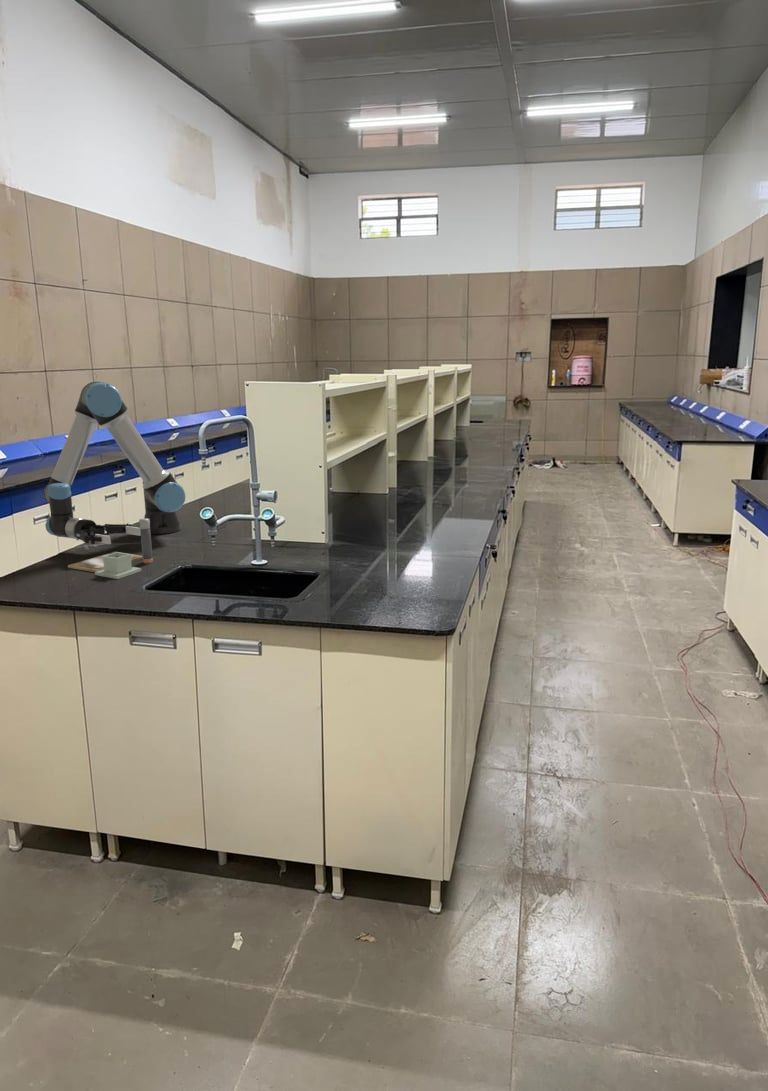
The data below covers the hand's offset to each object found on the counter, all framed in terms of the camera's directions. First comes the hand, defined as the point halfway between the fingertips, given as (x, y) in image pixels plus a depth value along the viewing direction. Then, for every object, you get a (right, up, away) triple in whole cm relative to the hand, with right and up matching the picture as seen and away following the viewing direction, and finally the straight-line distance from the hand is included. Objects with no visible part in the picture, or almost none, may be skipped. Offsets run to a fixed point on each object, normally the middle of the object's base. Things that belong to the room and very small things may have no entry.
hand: (125, 535), depth 253 cm
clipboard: (-5, -9, -3) cm, 11 cm away
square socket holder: (+3, -12, -15) cm, 19 cm away
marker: (+8, -9, -2) cm, 13 cm away
